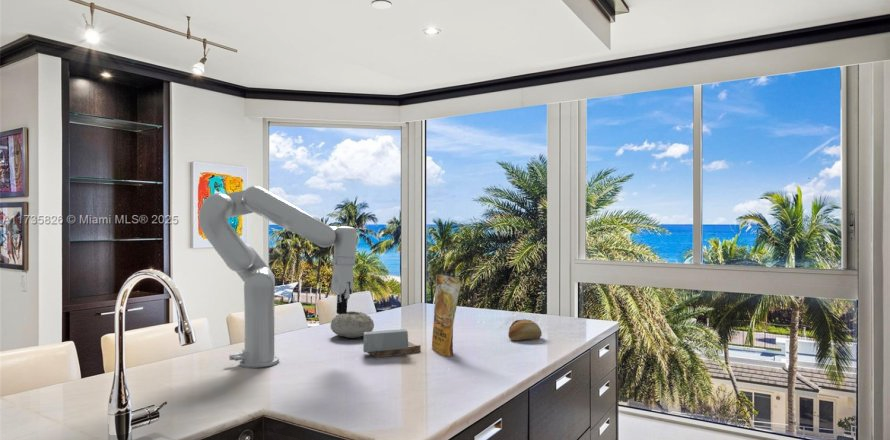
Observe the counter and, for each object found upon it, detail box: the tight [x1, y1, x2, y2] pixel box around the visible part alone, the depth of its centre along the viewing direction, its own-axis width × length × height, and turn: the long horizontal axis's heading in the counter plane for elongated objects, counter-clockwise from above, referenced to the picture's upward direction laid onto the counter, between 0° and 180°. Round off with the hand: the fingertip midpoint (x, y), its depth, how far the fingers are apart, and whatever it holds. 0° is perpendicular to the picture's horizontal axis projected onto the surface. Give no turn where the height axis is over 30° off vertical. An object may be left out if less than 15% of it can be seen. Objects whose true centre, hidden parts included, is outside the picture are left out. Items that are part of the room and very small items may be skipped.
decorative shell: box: [330, 310, 375, 339], centre depth 218 cm, size 18×18×10 cm
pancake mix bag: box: [431, 273, 462, 358], centre depth 193 cm, size 7×19×28 cm, turn 22°
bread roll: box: [507, 318, 542, 341], centre depth 214 cm, size 10×15×8 cm, turn 115°
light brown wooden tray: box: [368, 341, 422, 358], centre depth 194 cm, size 17×13×2 cm
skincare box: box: [362, 328, 409, 353], centre depth 188 cm, size 8×7×16 cm
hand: (341, 313), depth 184 cm, fingers closed
